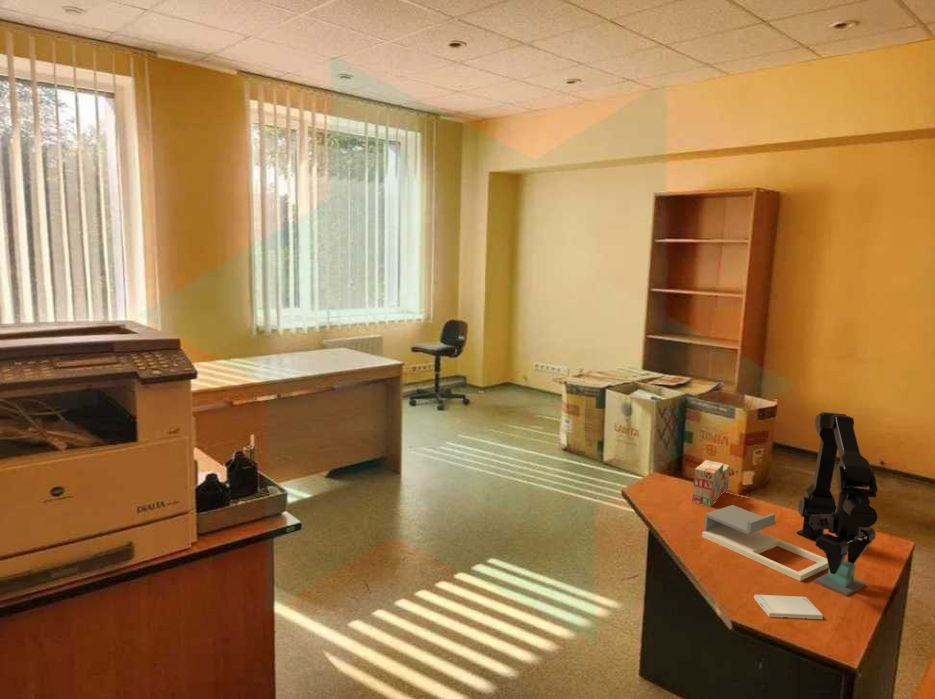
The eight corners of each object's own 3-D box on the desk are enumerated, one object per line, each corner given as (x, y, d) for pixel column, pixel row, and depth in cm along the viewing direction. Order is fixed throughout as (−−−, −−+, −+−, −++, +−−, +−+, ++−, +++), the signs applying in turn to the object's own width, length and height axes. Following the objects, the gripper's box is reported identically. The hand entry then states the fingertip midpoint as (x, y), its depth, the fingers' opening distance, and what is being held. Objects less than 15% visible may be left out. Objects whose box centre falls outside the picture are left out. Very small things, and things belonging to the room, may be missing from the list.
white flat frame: (733, 525, 196) (734, 520, 196) (831, 566, 172) (832, 560, 172) (701, 536, 187) (702, 531, 187) (800, 581, 163) (800, 575, 163)
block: (835, 575, 166) (837, 557, 165) (853, 582, 162) (855, 564, 161) (826, 579, 163) (829, 561, 162) (844, 587, 160) (847, 569, 159)
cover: (730, 520, 196) (733, 497, 194) (773, 538, 184) (776, 513, 183) (703, 529, 188) (706, 506, 187) (746, 548, 177) (749, 523, 175)
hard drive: (805, 596, 154) (754, 593, 154) (823, 615, 146) (769, 612, 146) (804, 602, 154) (753, 599, 154) (822, 621, 146) (768, 619, 146)
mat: (833, 572, 169) (833, 569, 169) (865, 585, 162) (865, 583, 162) (813, 581, 163) (814, 579, 163) (846, 596, 157) (846, 593, 157)
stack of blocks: (709, 485, 231) (713, 453, 229) (727, 490, 227) (731, 457, 225) (691, 502, 214) (695, 468, 212) (710, 507, 210) (714, 472, 208)
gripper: (835, 494, 171) (828, 548, 174) (798, 507, 161) (791, 564, 163) (880, 508, 162) (871, 565, 165) (844, 523, 152) (835, 583, 154)
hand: (841, 569), depth 162 cm, fingers open, 9 cm apart
